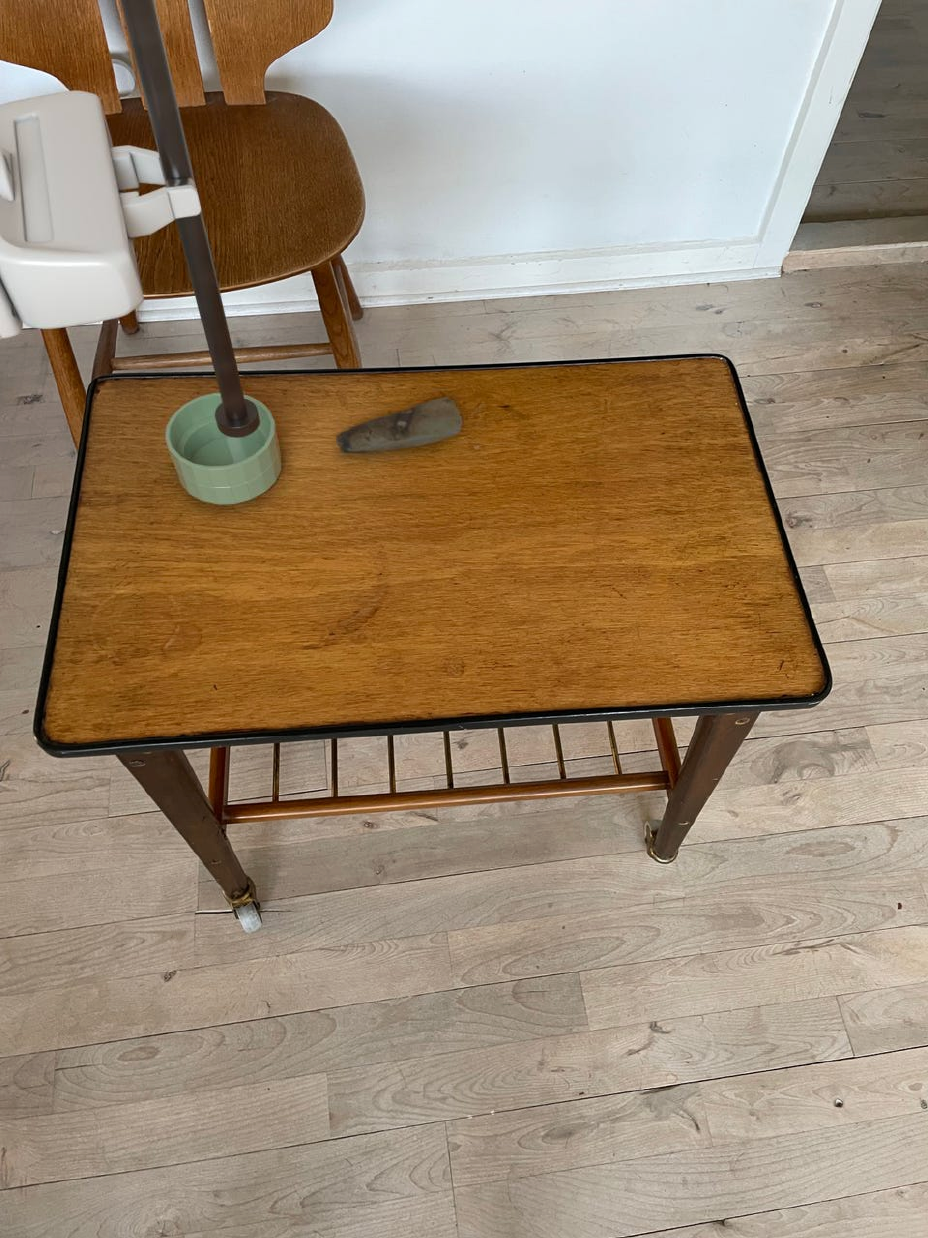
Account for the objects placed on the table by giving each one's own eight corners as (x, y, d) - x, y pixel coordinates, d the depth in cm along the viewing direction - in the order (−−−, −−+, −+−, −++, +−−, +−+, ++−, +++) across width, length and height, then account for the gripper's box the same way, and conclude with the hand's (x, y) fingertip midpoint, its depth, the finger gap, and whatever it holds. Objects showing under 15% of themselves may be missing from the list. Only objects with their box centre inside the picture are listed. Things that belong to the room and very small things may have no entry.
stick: (208, 426, 72) (41, -161, 40) (236, 402, 74) (97, -180, 42) (241, 444, 71) (98, -143, 39) (268, 418, 73) (152, -163, 41)
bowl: (157, 480, 83) (142, 440, 78) (224, 419, 88) (213, 378, 83) (238, 524, 80) (227, 485, 76) (302, 459, 85) (296, 418, 81)
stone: (450, 407, 90) (451, 391, 88) (468, 439, 88) (469, 423, 86) (333, 439, 87) (330, 422, 85) (348, 472, 85) (346, 457, 83)
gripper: (-17, 171, 60) (182, 147, 63) (-6, 359, 50) (230, 319, 53) (-59, 75, 55) (160, 53, 58) (-57, 263, 44) (209, 224, 47)
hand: (194, 181), depth 55 cm, fingers closed on stick, 2 cm apart
